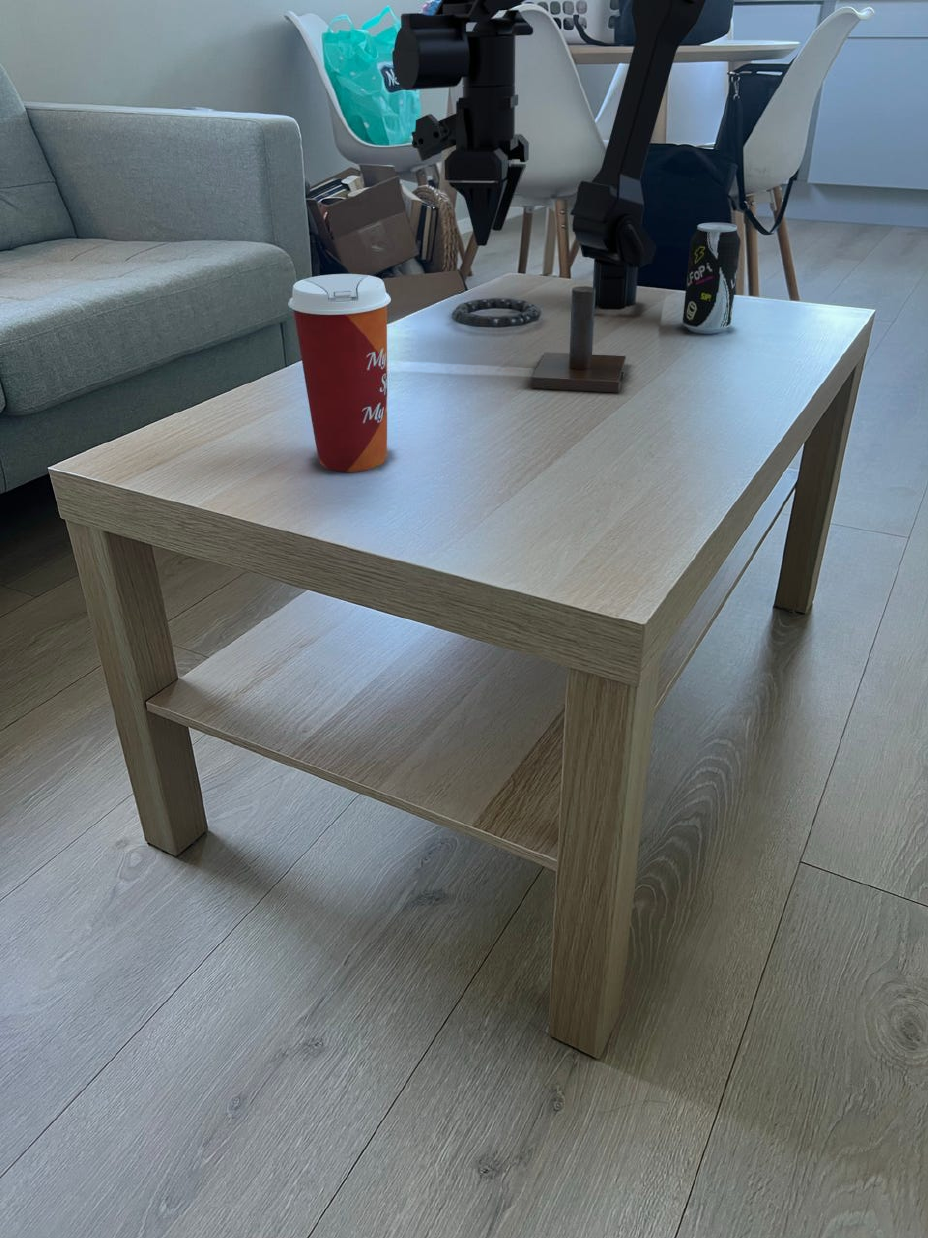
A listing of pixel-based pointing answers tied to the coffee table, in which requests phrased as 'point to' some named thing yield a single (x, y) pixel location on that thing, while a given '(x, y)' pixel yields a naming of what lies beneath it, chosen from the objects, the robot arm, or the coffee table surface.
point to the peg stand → (580, 355)
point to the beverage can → (711, 278)
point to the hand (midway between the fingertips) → (489, 237)
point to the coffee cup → (345, 366)
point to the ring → (526, 316)
